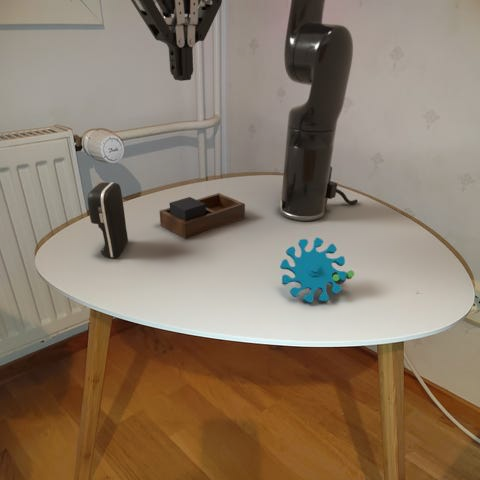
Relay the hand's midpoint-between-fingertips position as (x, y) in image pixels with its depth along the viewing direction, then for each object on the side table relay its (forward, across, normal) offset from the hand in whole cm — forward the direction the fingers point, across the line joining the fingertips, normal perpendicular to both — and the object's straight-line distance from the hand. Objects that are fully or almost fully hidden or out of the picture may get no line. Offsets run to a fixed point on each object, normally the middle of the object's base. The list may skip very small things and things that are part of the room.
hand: (182, 79), depth 57 cm
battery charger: (+27, -9, +11) cm, 31 cm away
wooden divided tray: (+27, +11, +10) cm, 31 cm away
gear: (+27, +7, -22) cm, 35 cm away
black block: (+26, +7, +10) cm, 29 cm away
